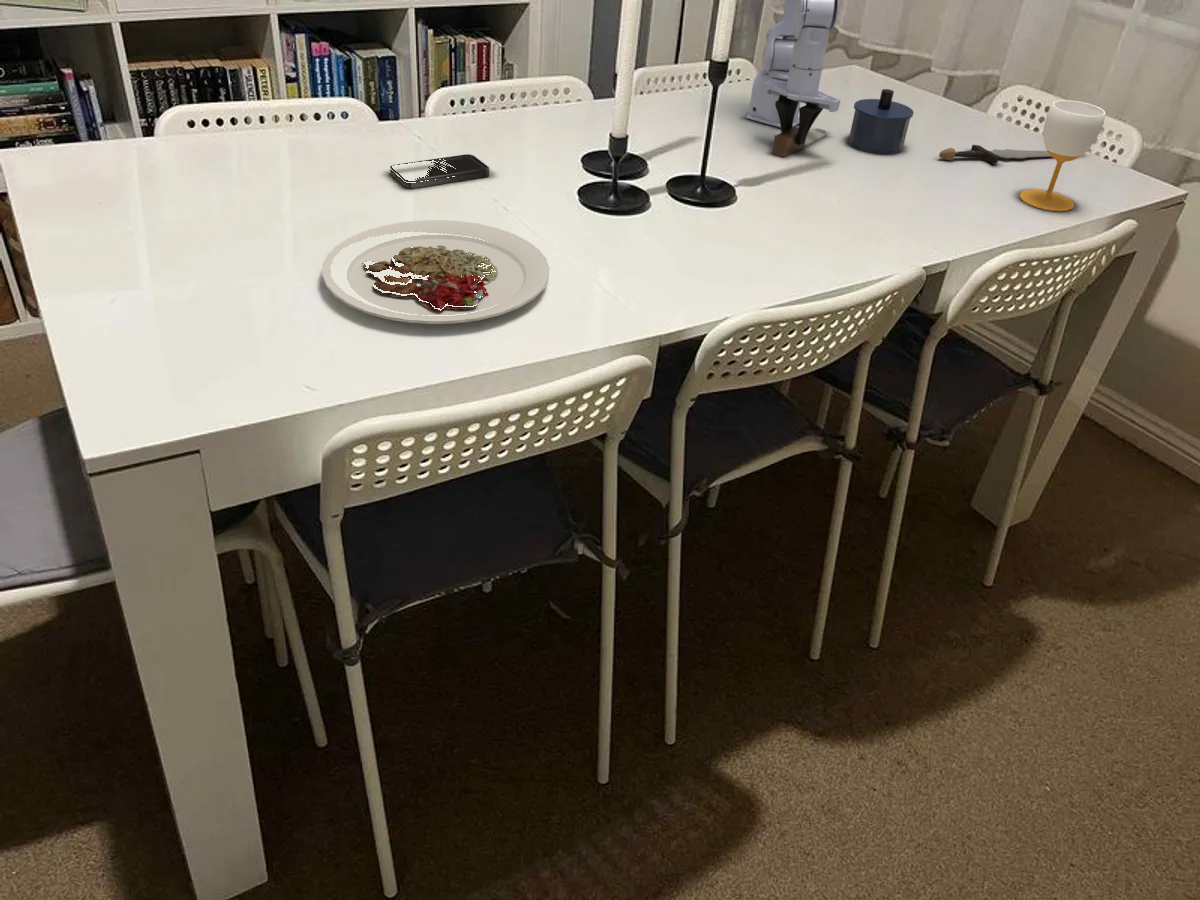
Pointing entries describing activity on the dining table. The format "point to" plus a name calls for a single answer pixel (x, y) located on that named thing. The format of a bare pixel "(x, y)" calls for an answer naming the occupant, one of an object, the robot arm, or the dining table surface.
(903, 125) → the pot
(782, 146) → the knife
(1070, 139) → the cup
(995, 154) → the dagger
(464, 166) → the phone
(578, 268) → the dining table surface
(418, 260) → the plated food
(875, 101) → the pot lid
